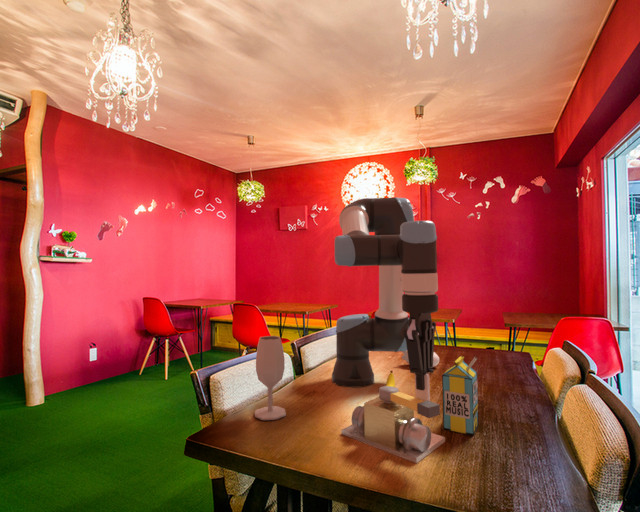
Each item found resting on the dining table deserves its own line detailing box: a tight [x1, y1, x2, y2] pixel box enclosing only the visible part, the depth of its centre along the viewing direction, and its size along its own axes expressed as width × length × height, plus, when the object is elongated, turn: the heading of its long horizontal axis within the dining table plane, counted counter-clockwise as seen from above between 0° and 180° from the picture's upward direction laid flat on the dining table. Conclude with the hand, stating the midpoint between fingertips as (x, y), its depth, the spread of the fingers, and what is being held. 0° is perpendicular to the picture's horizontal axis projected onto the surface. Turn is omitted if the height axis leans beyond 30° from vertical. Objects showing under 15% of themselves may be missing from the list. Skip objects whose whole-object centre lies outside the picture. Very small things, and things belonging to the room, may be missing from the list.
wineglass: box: [254, 335, 287, 421], centre depth 101 cm, size 9×9×21 cm
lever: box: [378, 385, 441, 419], centre depth 80 cm, size 15×4×2 cm, turn 33°
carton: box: [441, 356, 479, 437], centre depth 92 cm, size 7×8×18 cm
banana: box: [385, 370, 396, 387], centre depth 112 cm, size 3×19×6 cm, turn 162°
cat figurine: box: [401, 350, 440, 369], centre depth 151 cm, size 10×8×15 cm
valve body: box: [340, 396, 446, 464], centre depth 87 cm, size 20×13×10 cm, turn 46°
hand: (422, 403), depth 79 cm, fingers closed
